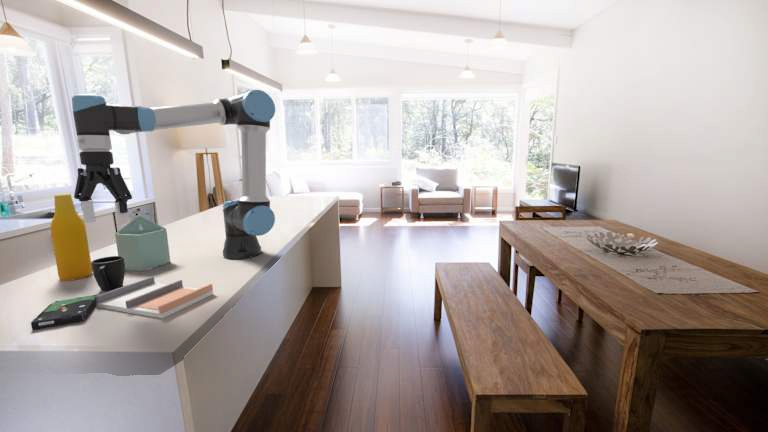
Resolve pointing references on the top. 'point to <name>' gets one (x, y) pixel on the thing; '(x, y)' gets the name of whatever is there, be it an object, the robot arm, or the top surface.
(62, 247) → the beer bottle
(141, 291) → the slot rack
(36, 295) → the top surface
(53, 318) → the disk drive
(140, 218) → the planter
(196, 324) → the top surface
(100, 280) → the mug
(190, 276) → the top surface
